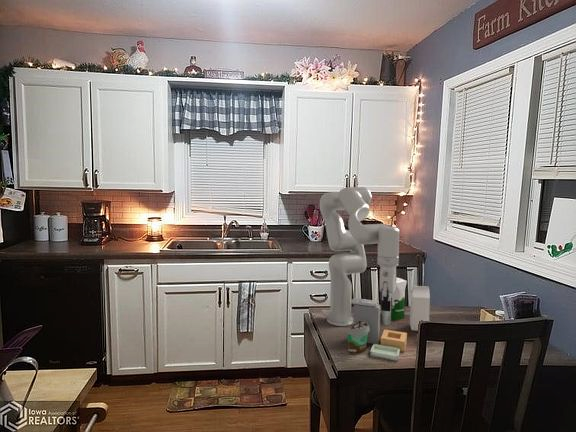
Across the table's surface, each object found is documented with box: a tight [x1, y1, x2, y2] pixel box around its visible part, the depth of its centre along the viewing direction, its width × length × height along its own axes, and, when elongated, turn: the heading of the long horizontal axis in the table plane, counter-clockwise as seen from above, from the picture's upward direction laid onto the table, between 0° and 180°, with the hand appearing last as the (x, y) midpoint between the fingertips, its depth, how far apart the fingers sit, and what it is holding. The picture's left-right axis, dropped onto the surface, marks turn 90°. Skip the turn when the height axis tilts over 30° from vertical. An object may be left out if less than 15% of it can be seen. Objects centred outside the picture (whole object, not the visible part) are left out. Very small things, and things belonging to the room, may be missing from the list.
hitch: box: [352, 304, 408, 353], centre depth 154 cm, size 20×9×15 cm, turn 67°
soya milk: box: [391, 276, 408, 321], centre depth 183 cm, size 9×9×20 cm
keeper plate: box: [351, 297, 379, 307], centre depth 156 cm, size 10×4×1 cm, turn 67°
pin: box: [381, 291, 392, 326], centre depth 143 cm, size 3×3×14 cm
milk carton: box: [409, 285, 431, 332], centre depth 169 cm, size 7×7×19 cm
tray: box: [369, 344, 401, 362], centre depth 145 cm, size 10×7×2 cm
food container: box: [346, 319, 370, 354], centre depth 148 cm, size 12×6×10 cm, turn 148°
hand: (386, 308), depth 143 cm, fingers closed on pin, 3 cm apart
